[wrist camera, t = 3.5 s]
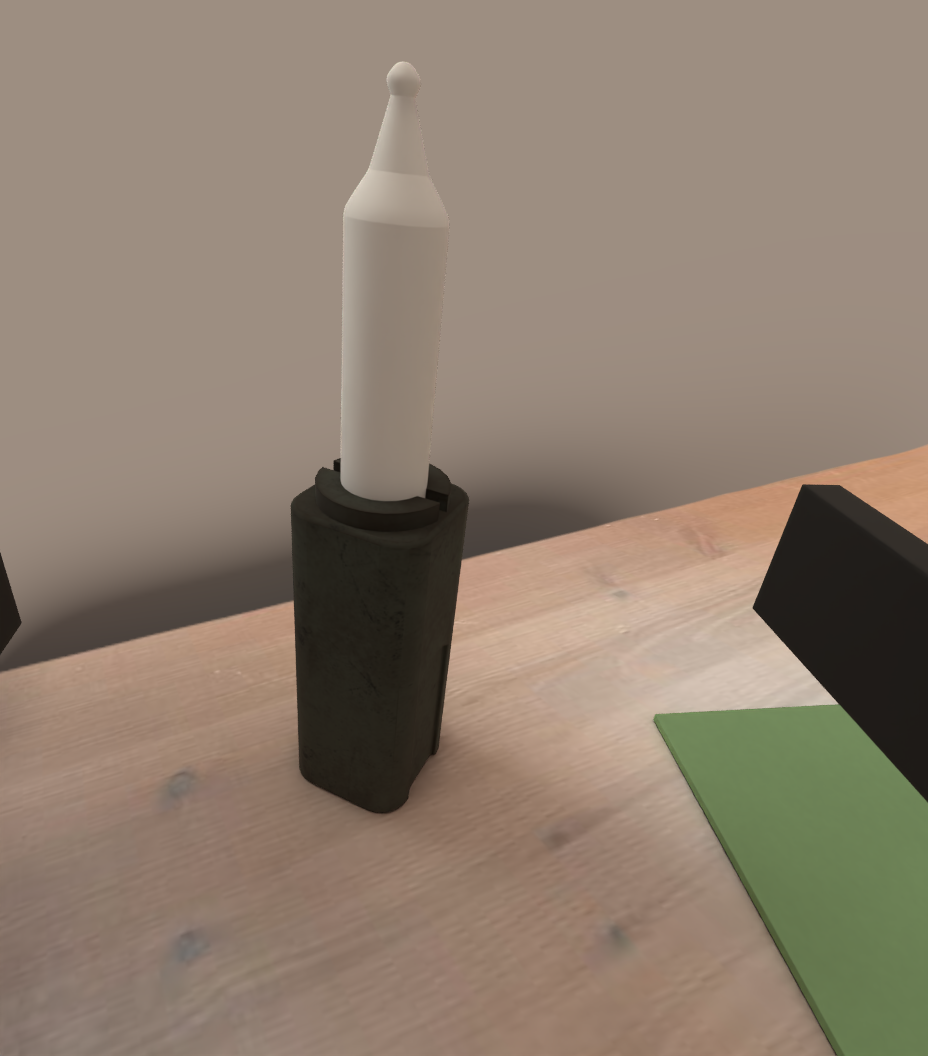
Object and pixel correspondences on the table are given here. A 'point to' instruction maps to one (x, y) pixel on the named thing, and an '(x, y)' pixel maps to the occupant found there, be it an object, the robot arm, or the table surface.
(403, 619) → the candle
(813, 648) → the robot arm
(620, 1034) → the table surface
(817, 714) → the cloth
